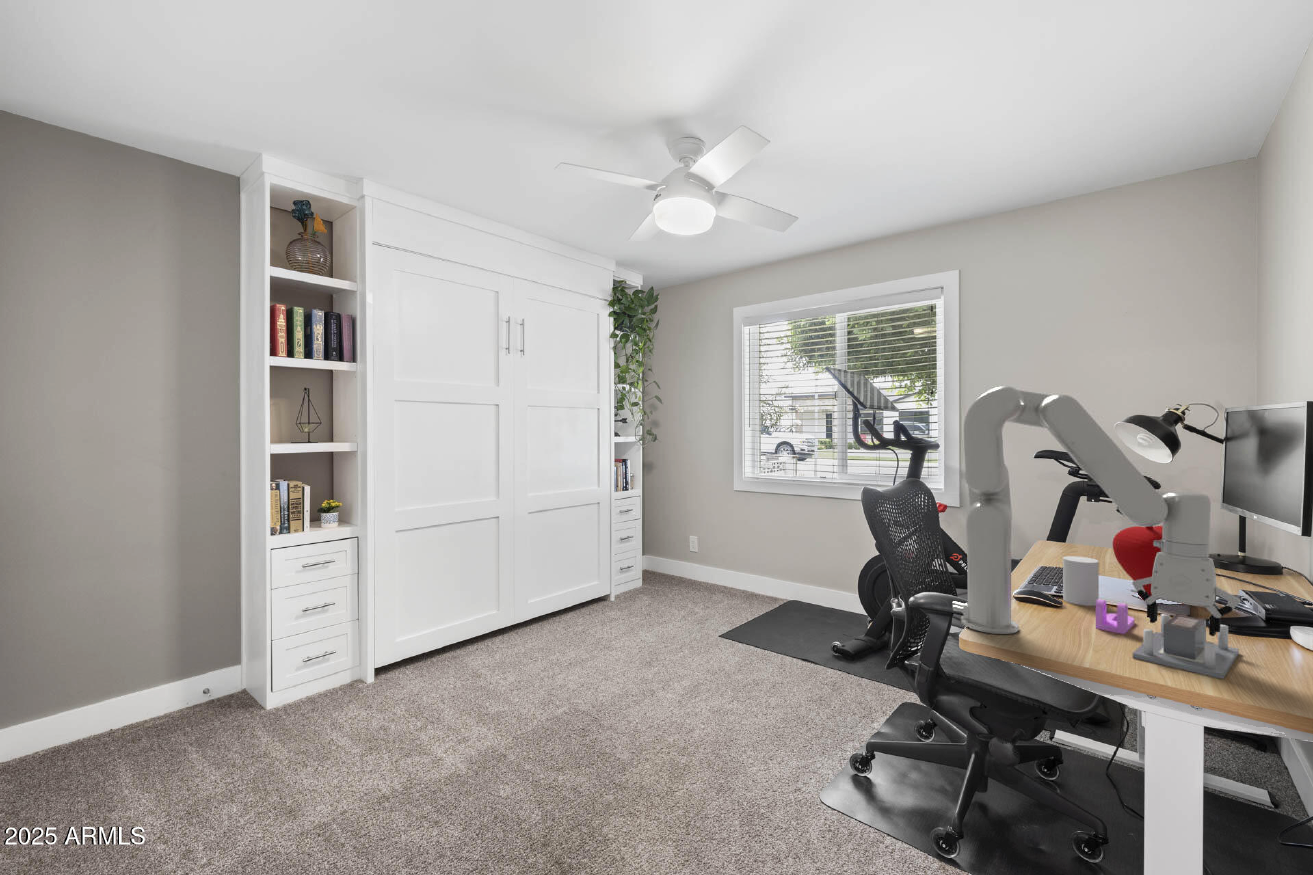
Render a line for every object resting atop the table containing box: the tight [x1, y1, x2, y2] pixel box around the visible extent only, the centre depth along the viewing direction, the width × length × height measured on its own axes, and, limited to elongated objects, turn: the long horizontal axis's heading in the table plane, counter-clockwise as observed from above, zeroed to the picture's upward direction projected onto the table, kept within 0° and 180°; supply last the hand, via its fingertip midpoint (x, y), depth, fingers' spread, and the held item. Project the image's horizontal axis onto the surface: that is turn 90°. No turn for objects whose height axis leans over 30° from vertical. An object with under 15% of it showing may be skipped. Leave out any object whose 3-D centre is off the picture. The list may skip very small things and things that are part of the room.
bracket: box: [1095, 598, 1135, 635], centre depth 145 cm, size 13×6×7 cm, turn 130°
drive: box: [1164, 613, 1207, 660], centre depth 125 cm, size 5×11×6 cm, turn 128°
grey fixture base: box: [1132, 613, 1240, 680], centre depth 125 cm, size 14×20×6 cm
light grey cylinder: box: [1062, 555, 1100, 607], centre depth 165 cm, size 8×8×12 cm
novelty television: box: [1112, 525, 1163, 596], centre depth 165 cm, size 21×13×30 cm, turn 94°
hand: (1182, 627), depth 126 cm, fingers open, 9 cm apart
